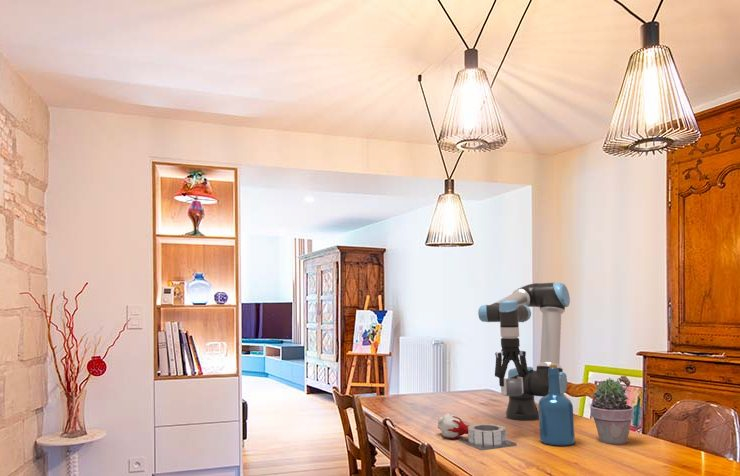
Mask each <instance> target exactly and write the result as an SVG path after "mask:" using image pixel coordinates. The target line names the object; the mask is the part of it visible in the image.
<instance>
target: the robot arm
mask: <svg viewBox="0 0 740 476" xmlns="http://www.w3.org/2000/svg"><path fill="white" fill-rule="evenodd" d="M569 293H570V292H569V290H568V287H567V286H566V284H565V283H563V282H542V283H540V282H539V283H529V284H526V285H522V286H520V287H519V288H517V289H515V290H513V292H512V293H511V294H509V295H508V296H506V297H503V298H502V299H499V300H498V301H496V302H493V303H491V304H481V305H480V306H479V308H478V311H477V313H478V314H477V315H478V319H479V320H480V321H481V322H484V323H499V324H500V325H499V326H500V328H499V329H500V337H501V338H500V347H501V350H500V351H496V352H495V354H494V355H495V368H494V377H496V378H498V380H499V381H498V382H499V383H498V384H499V386H500V393H501V395H503V396H505V395H507V389H506V379H511V378H512V379H521V384H522V395H521V396H508V403H507V406H506V410H505V417H506V418H508V419H509V420H515V421H516V420H517V421H533V420H539V409H538V408H537V407H538V406H537V404H536V402H535V397H541V398H542V397H544V396H546V395H548V393H549V376H548V372H549V368H550V364H556V365H557V368H558V370H559V375H560V376H559V382H560V393H562V394H563V395H565V393H566V390H567V385H568V377H567V374H566V372H564V371H563V370H564V369H563V367H562V366H561V365H560V359H561V358H560V357H561V356H560V355H561V336H562V335H561V334H562V333H561V331H562V330H561V329H562V314H564V312H565V310H566V308H567V307H569V306H570V303H571V299H570V294H569ZM530 308H539V311H540V312H541V313H542V314H541V315H542V316H541V317H542V318H541V319H542V320H541V336H540V338H541V339H540V360H539V361H540V362H539V363H538V364H537V365H536V369H535V370H534V368H533V367H532V366H528V364H527V363H528V362H527V359H526V354H527V352H526V351H524V350H520V338H519V337H520V328H519V325H520V324H519V323H524V322H525V323H526V322H527V321H529V320H530V319H531V316H532V311H531V309H530ZM511 361H512V362H513V364H514V366H515V367H514V368H511V369H509V370H508V365H509V363H510V362H511ZM507 370H508V371H507ZM506 373H507V378H505V377H506Z"/></svg>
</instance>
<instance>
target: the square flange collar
mask: <svg viewBox="0 0 740 476" xmlns="http://www.w3.org/2000/svg"><path fill="white" fill-rule="evenodd" d="M467 435H468V437H463V438H458V441H459V442H461V443H463V444H465V445H468V446H470V447H472V448H475V449H478V450H479V451H485V450H494V449H500V448H507V447H515V446H517V445H518V444H517V442H514V441H511V440H509V439H507V429H506V427H505V426H504V425H503V426H502V425H500V424H493V423H477V424H476V423H475V424H471V425H469V426H468V434H467Z"/></svg>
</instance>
